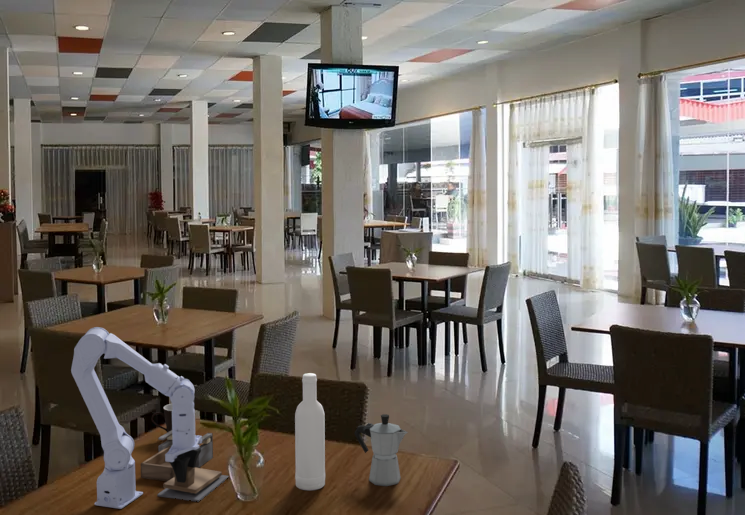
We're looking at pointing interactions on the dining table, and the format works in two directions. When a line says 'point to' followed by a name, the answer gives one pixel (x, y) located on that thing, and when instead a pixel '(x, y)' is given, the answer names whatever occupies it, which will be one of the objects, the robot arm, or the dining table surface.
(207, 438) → the bar
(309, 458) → the bottle
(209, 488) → the lid mat
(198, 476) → the toolbox lid
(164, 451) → the toolbox
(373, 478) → the coffee maker
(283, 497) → the dining table surface
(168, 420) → the coffee mug
